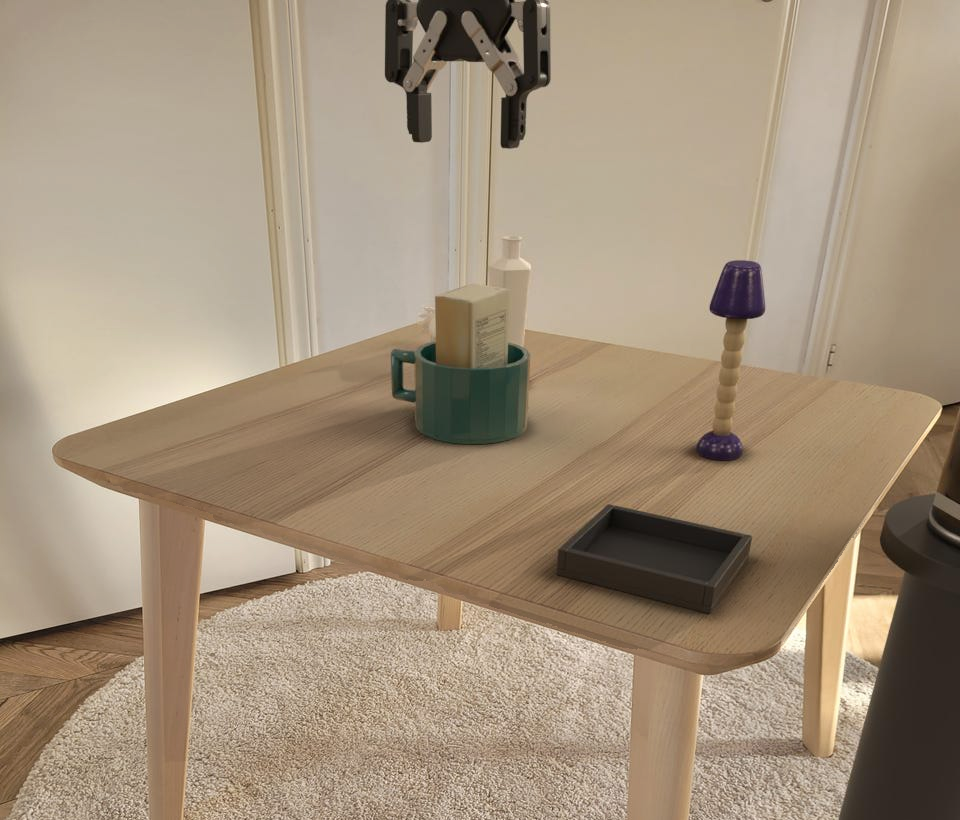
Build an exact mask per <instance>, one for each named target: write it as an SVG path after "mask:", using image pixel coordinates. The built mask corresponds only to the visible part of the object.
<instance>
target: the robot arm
mask: <svg viewBox="0 0 960 820" xmlns="http://www.w3.org/2000/svg"><path fill="white" fill-rule="evenodd" d="M384 13H385V19H384V20H385V21H384V22H385V23H384V25H385V26H384V28H385V29H384V78H385V80H386V82H388V83H392V84H393V83H394V84H395V85H398V86H399V87H401V88H402V89H403V90H404V92H405V96H406V98H405V99H406V129H407V131H408V134H409V135H411V140H412V142H413V143H420V144H421V143H422V144H423V143H429V142H431V141H432V137H433V122H432V121H433V120H432V119H433V117H432V116H433V115H432V113H433V112H432V111H433V110H432V107H433V106H432V103H433V102H432V92H428V90H429V89H430V88H431V85H432V83H433V82H434V81H435V79H436V77H437V75H438V73H439V72H440V71H441V70H443V68H445V66H446V64H447V63H448V62H468V63H485V65H486V67H487V68H488V70H489V71H490V72H491V73H493V74H494V76H495V78H496V79H497V81H498V83H499V85H500V87H501V89H502V90H503V92H504V94H505V96H503V97H501V98H500V100H501V101H500V105H501V106H500V107H501V108H500V140H499V141H500V147H501V148H502V149H506V150H507V149H508V150H509V149H510V150H513V149H518V148H519V146H520V142H521V141H523V140H524V138H525V136H526V133H527V132H526V131H527V129H526V127H527V100H528V97H529V95H530V93H532V92H534V91H537V90H538V89H541V88H546V87H547V86H548V85H549V84H551V78H552V77H551V75H552V73H551V72H552V71H551V70H552V69H551V64H552V63H551V59H552V58H551V4H550V2H549V1H548V0H524V1H515V0H418V1H417V2H413V1H411V0H386V3H385V12H384ZM515 21H516V22H517V27H518V29H519V31H520V32H521V33H522V40H523V41H522V47H523V48H522V49H523V50H522V51H523V68H522V66H521V65H520V58H519V55H518V53H517V52H516V50H515V48H514V46H513V45H512V43H511V41H510V39H509V37H508V36H507V35H508V34H509V31H510V30H511V28H512V26H513V25H514V24H515V23H514V22H515ZM418 22H419V23H420V25H421V27H422V29H423V31H424V33H425V34H424V35H423V38H422V39H421V41H420V43H419V45H418V47H417V49H416V51H415V52H414V54H413V51H414V50H413V45H414V31H415V30H416V28H417V26H418V24H419V23H418ZM934 494H935V497H934V500H933V506H932V507H931V509H930V512H929V516H928V519H927V526H928V528H929V530H930V531H931V532H932V533H933V534H934V535H935V536H936V537H937V538H939V539H940V540H942V541H943V542H945V543H947V544H949V545H951V546H953V547H955V548H957V549H960V407H959V409H958V412H957V416H956V419H955V423H954V426H953V430H952V434H951V437H950V440H949V445H948V448H947V452H946V455H945V459H944V462H943V466H942V471H941V474H940V477H939V481H938V484H937V489H936V491H935V493H934Z"/></svg>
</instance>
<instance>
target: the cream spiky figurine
mask: <svg viewBox="0 0 960 820" xmlns="http://www.w3.org/2000/svg"><path fill="white" fill-rule="evenodd" d="M422 308H423V310H424V312H425V313H417V315H418V316H419V318H422V319H424V318H425V319H424V320H422V321H420V322H416V324H417V325H418V326H420V327H422V329H420V331H419V330H418V333H419V334H424V333H425V332H426V331H427V329H428V333H429V343H430V342H434V341H436V325H435V324H436V322H435V307H430V306H429V307H427V306H424V305H422Z"/></svg>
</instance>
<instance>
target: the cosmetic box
mask: <svg viewBox="0 0 960 820" xmlns="http://www.w3.org/2000/svg"><path fill="white" fill-rule="evenodd" d="M434 308H435V322H436V324H435V325H436V340H435V341H436V363H437V364H442V365H447V366H453V367H466V368H488V367H496V366H503V365H507V364H508V324H509V322H508V321H509V290H508V289H503V288H498V287H492V286H489V285H485V284H480V283H469V284H467V285H463V286H460V287H457V288H454V289H450V290H448V291H445V292H442V293H439V294H436V295H434Z"/></svg>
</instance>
